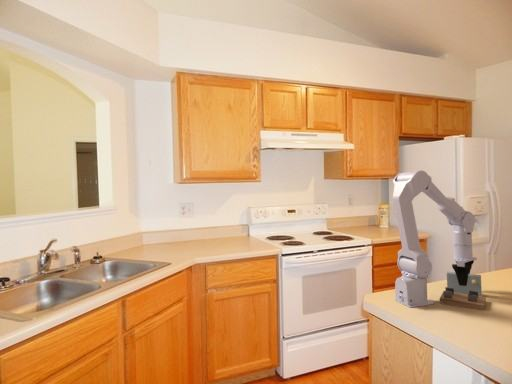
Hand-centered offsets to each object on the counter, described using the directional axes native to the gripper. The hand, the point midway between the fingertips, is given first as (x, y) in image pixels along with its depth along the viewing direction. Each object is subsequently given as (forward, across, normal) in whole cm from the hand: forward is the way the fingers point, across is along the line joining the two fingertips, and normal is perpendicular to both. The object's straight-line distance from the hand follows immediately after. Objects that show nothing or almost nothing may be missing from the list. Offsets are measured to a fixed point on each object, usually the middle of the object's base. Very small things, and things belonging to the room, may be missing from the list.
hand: (463, 282), depth 112 cm
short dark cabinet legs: (+2, -10, 0) cm, 10 cm away
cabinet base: (+4, -10, 0) cm, 11 cm away
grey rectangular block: (+4, 0, 0) cm, 4 cm away
